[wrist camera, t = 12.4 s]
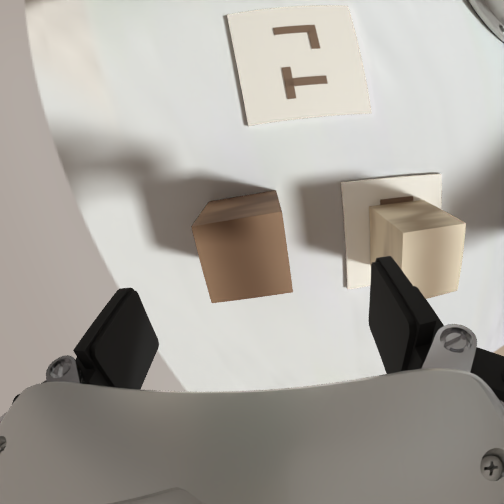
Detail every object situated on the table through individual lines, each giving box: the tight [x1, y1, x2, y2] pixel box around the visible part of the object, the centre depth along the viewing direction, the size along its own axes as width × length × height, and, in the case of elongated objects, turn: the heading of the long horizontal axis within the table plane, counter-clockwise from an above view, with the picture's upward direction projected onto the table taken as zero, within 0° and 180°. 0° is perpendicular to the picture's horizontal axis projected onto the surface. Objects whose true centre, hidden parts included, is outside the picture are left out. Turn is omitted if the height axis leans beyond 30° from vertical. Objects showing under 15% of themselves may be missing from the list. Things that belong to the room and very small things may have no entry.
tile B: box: [341, 174, 442, 290], centre depth 22 cm, size 9×9×1 cm
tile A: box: [227, 5, 372, 126], centre depth 17 cm, size 9×9×1 cm
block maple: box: [369, 200, 466, 299], centre depth 19 cm, size 5×5×6 cm
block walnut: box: [191, 191, 293, 303], centre depth 19 cm, size 5×5×6 cm
